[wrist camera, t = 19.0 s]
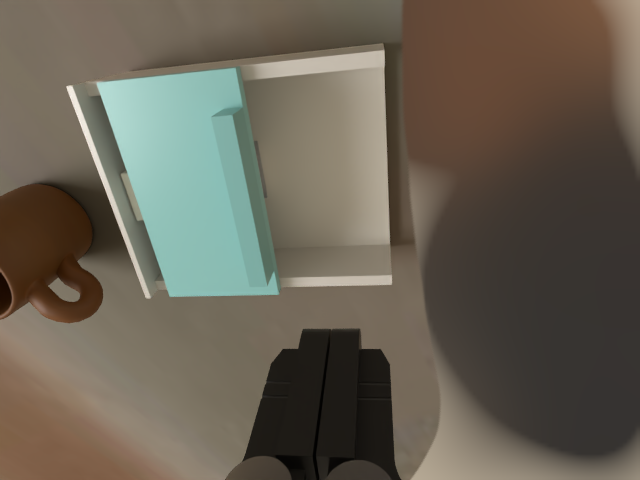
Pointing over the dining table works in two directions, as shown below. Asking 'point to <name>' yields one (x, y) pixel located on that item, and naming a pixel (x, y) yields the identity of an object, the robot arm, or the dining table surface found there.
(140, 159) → the teal lid
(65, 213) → the mug
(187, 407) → the dining table surface
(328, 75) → the grey housing
